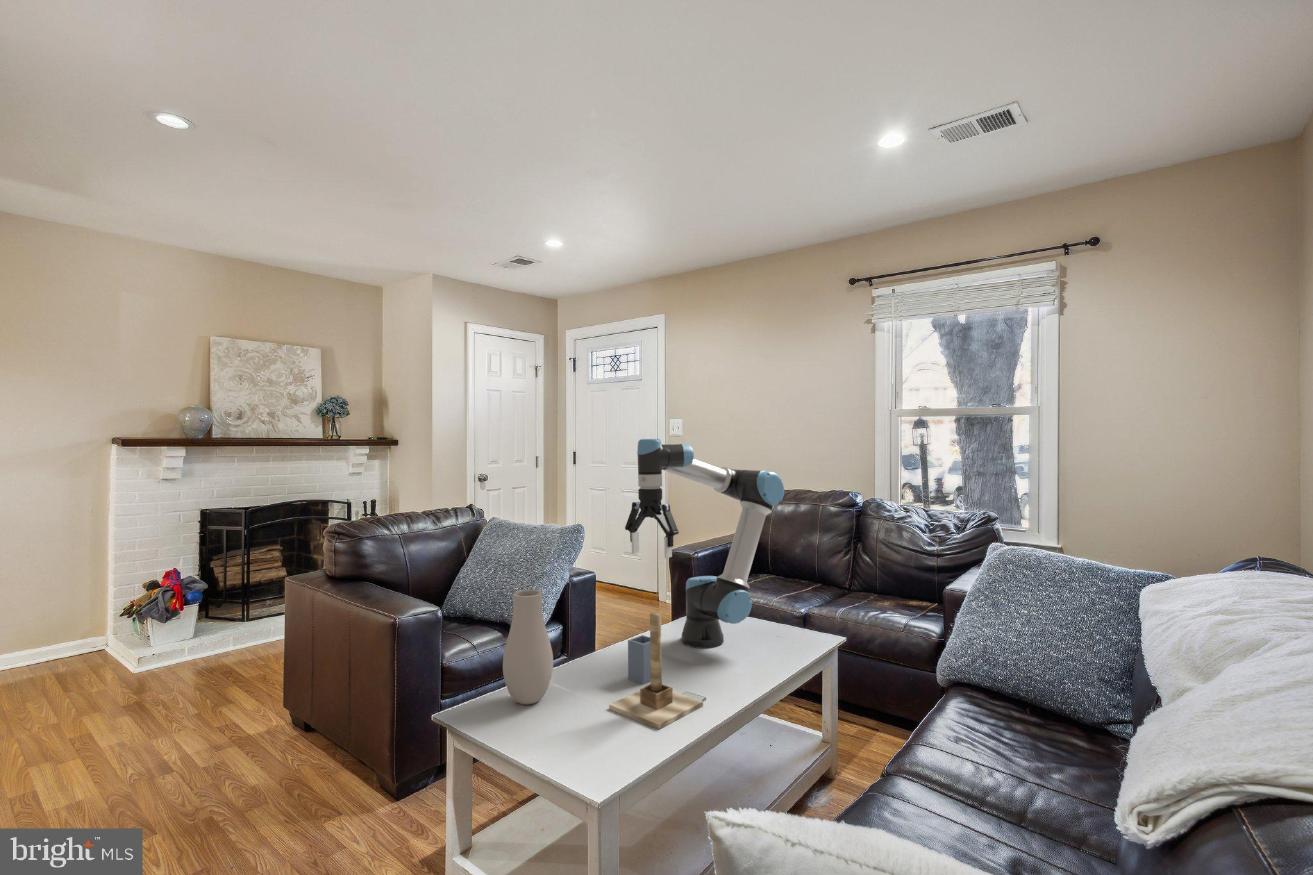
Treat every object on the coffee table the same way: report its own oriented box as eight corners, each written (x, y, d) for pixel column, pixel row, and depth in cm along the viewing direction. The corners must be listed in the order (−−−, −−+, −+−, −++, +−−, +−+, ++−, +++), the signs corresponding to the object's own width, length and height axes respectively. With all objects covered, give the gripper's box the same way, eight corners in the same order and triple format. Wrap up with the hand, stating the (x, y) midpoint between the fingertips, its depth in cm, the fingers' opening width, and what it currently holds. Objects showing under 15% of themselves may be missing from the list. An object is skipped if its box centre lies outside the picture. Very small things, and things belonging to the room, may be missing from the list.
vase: (548, 711, 163) (548, 599, 164) (497, 711, 163) (496, 599, 164) (556, 690, 177) (556, 586, 177) (509, 690, 177) (508, 587, 177)
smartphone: (707, 697, 171) (677, 717, 158) (707, 700, 171) (677, 720, 158) (685, 690, 175) (654, 709, 163) (685, 693, 175) (654, 712, 163)
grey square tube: (642, 673, 189) (642, 635, 189) (658, 679, 185) (657, 639, 185) (628, 679, 185) (628, 640, 185) (643, 685, 180) (643, 644, 180)
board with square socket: (653, 688, 178) (653, 670, 178) (703, 705, 166) (702, 686, 166) (609, 708, 164) (609, 689, 165) (659, 729, 152) (659, 708, 153)
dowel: (656, 699, 167) (655, 611, 168) (664, 702, 165) (663, 613, 166) (648, 703, 165) (647, 614, 165) (656, 706, 163) (655, 616, 163)
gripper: (613, 487, 198) (614, 552, 198) (673, 490, 182) (675, 561, 182) (629, 485, 203) (630, 549, 203) (689, 488, 187) (690, 557, 187)
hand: (651, 555), depth 192 cm, fingers open, 13 cm apart
